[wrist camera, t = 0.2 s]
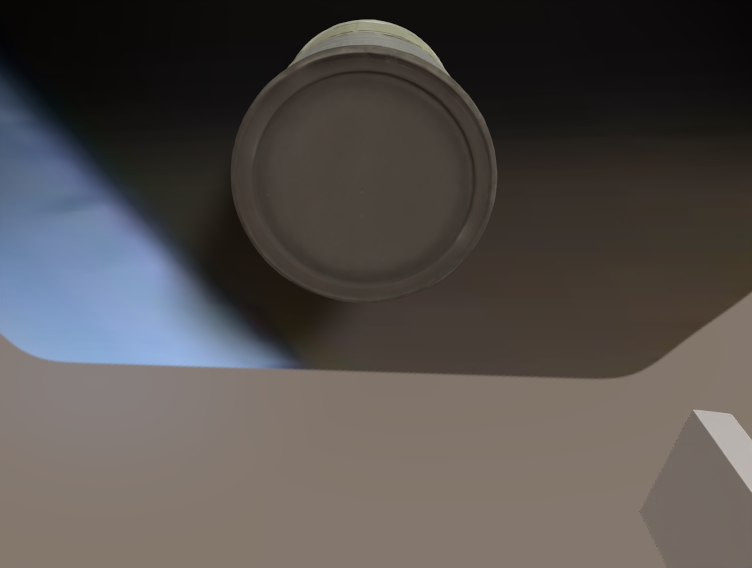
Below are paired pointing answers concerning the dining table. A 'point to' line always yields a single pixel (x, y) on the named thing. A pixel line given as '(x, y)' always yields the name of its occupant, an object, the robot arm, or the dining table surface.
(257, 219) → the coffee can
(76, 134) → the dining table surface
